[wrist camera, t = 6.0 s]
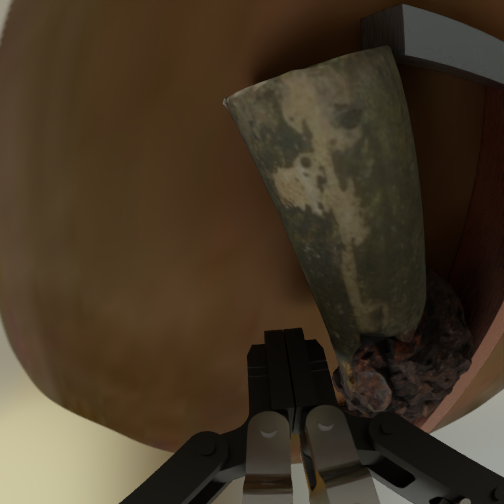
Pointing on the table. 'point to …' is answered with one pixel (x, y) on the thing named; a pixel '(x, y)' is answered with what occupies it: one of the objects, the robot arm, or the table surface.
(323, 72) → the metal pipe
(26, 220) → the table surface
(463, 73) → the brown pull handle
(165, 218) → the table surface
